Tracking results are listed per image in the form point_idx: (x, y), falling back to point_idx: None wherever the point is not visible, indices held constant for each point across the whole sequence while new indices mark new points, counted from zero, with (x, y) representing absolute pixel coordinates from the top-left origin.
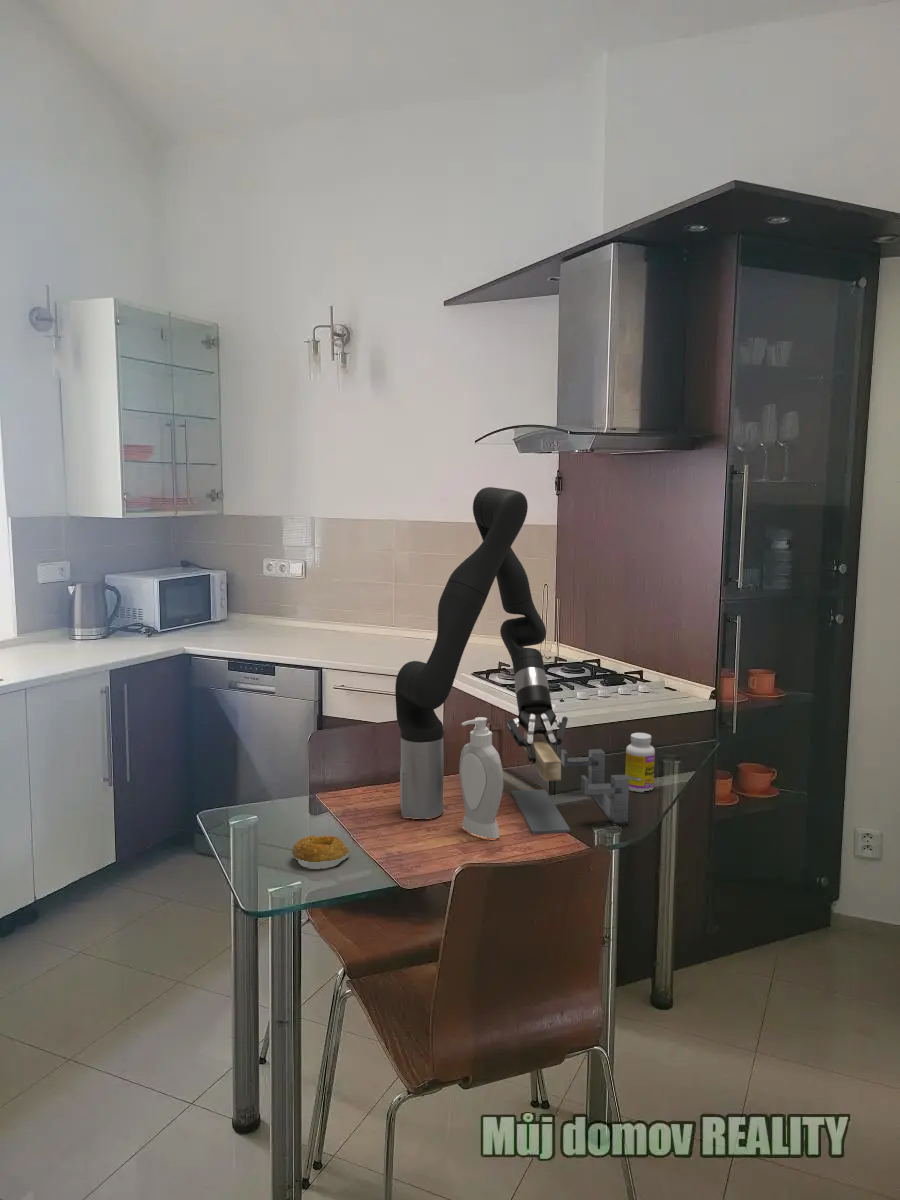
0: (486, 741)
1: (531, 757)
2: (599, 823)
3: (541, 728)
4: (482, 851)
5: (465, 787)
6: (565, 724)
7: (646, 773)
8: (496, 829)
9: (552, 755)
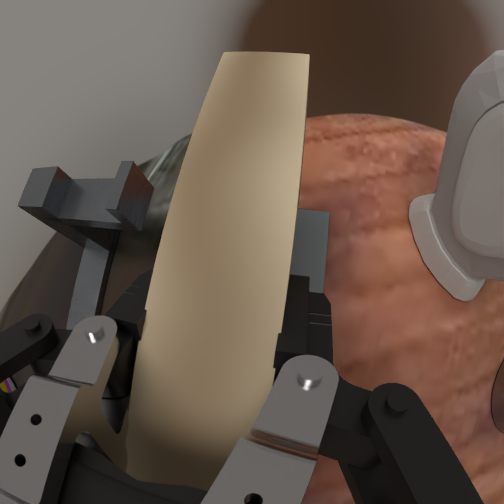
0: None
1: (314, 296)
2: (142, 242)
3: (110, 475)
4: (440, 163)
5: None
6: None
7: None
8: (422, 197)
9: (224, 115)
